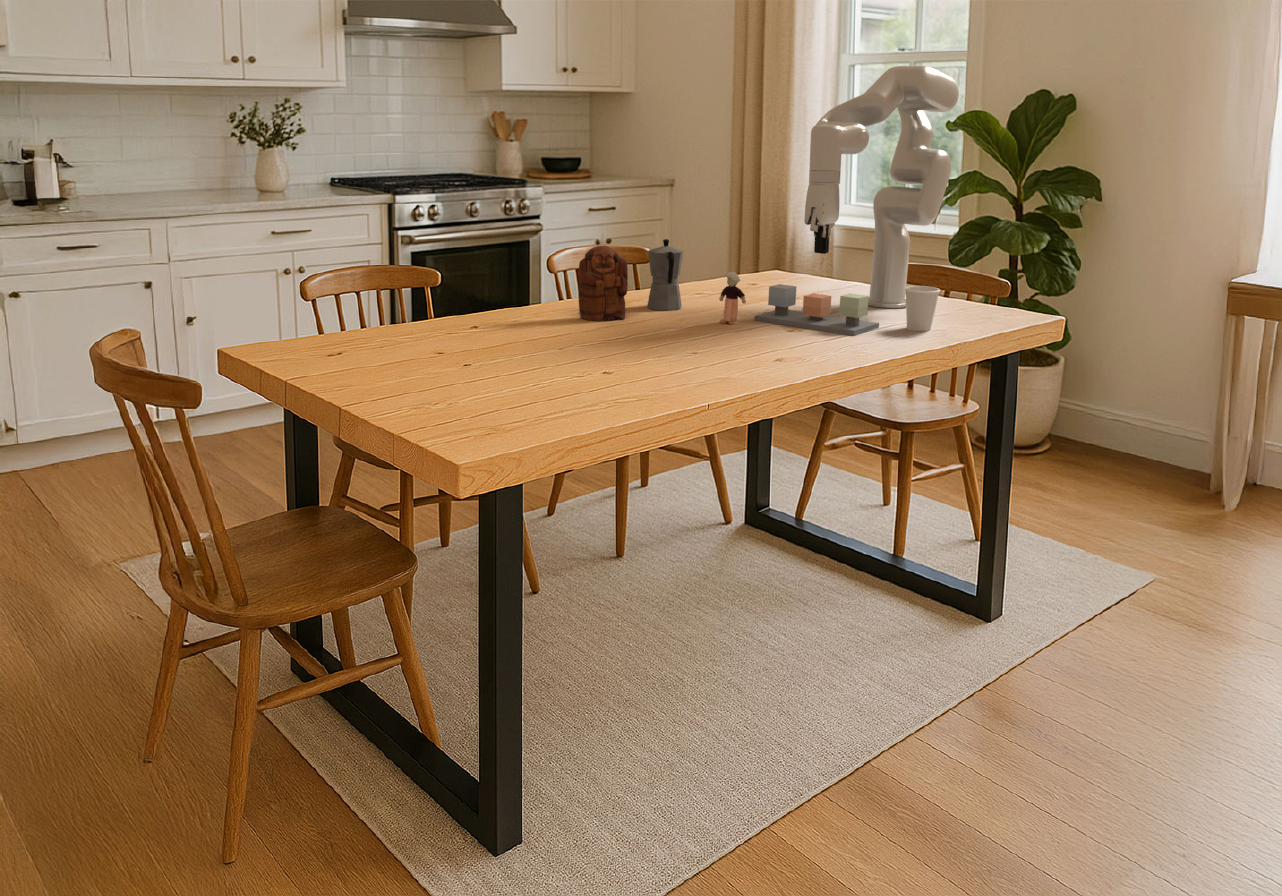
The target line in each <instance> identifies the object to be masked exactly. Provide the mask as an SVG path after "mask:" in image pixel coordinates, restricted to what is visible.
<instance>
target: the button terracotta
mask: <svg viewBox="0 0 1282 896" xmlns="http://www.w3.org/2000/svg"><path fill="white" fill-rule="evenodd" d="M802 302H803V303H802V312H803V315H808V316H814V317H823V316H827V315H828V316H831V308H832V295H829V294H828V295H827V294H820V293H809V294H806V295H803V301H802Z"/></svg>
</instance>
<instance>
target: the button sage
mask: <svg viewBox="0 0 1282 896" xmlns="http://www.w3.org/2000/svg"><path fill="white" fill-rule="evenodd" d="M869 297H870V295H865V294H858V293H857V294H856V293H847V294H843V295H840V298H839V308H838V309H839V311H838V316H840V317H846V316H848V317H854V318H859V317H860V318H863V317H865V316H868V311H869V310H868V309H869V308H868V307H869V305H868V298H869Z"/></svg>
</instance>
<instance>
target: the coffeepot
mask: <svg viewBox="0 0 1282 896" xmlns="http://www.w3.org/2000/svg"><path fill="white" fill-rule="evenodd" d="M662 241H663V246H659V247H654V248H650V249H649V250H647V253H648V261H649V262H648V263H649V268H650V270H649V271H650V276H651V277H652V282H651V285H650V291H649V295H648V302H647V307H646V308H648V309H650V310H654V311H663V312H665V311H667V312H669V311H671V312H673V311H679V310H681V308H682V307H683V305H682V300H681V292H680V284H679V277H680V275H681V268H682V263H683V257H684V250H683V249H679V248H676V247H672V246H669V244H670V239H667V238H666V239H663V240H662Z"/></svg>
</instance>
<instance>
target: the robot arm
mask: <svg viewBox="0 0 1282 896" xmlns="http://www.w3.org/2000/svg"><path fill="white" fill-rule="evenodd" d="M959 94H960V91H959V87H958V83H957V82H956V81H955V79H953V78H952V77H951V76H949V75H947V74H945V73H943V72H941V71H940V70H937V69H935V68H933V67H931V66H930V67H929V66H925V65H898V66H892V67H890V68H888V69H887V70H885V72H883V73H882V75H880V76H879V78H878V79H876V81H875V82H874V83H873V84H872V85H870V87H868V89H867V90H865V91H864V93H863V94H861V95H858V96H856V97H853V98H851V99H848V100H847V101H845V102H842V103H841V104H840V103H839V104H838V105H836V106H834V107H833V108H831V109H830V110H828V111H827V112H826V113H825V114H824V115H823V116H822V117H820V119H819V120H818V121H817V122H816V124H815V125H814V126H813V127H811V130H810V146H809V174H808V187H807V189H806V197H805V206H804V207H805V208H804V224H805V225H807V226H809V230H810V232H813V237H814V248H813V249H814V250H813V251H814V252H813V253H815V254H820V255H821V254H823V255H825V254H829V252H830V251H829V249H830V236H831V231H832V229H833V228H834V227H835V223H836V222H837V221H838V220H839V217H840V216H839V215H840V184H841V172H842V171H841V170H842V169H841V167H842V155H857V154H859V153H862V152H863V151H864V150H866V148H867V146H868V144H869V141H870V135H869V131H868V129H867V127H869V126H874V125H877V124H881V123H883V122H884V121H886V120H887V119H888V118H889V117H890V115H891V114H893V112H894V111H895V110H896V109H897V111H898V113H899V118H900V123H901V128H900V133H899V137H898V141H897V145H896V147H895V151H894V154H893V157H892V160H891V165H890V169H889V174H890V177H891V179H892V181H894V182H895V183H898V184H903V185H913V186H914V185H915V186H921V188H918V187H917V188H916V187H910V186H895V185H894V186H886V187H883V188H880V189H879V190H878V191H877V192H876V194H875V196H874V198H873V205H872V209H873V217H874V241H873V253H872V263H871V273H870V274H871V275H870V287H869V298H868V307H869V306H870V307H875V308H884V309H899V308H901V309H902V308H906V290H905V288H906V287H907V282H908V281H907V278H908V270H909V258H910V248H911V238H910V234H909V231H908V229H907V227H906V225H909V226H910V225H911V226H921V227H925V226H930V225H931V224H933V223H934V222H935V221H936V219H937V217H938V216H939V215H938V214H939V212H940V208H941V207H942V206H941V205H942V202H943V199H944V196H945V194H946V189H947V187H948V183H949V181H950V176H951V172H952V164H951V163H952V162H951V161H952V160H951V157H950V156H949V154H948V152H946V151H945V150H943V149H939V148H931V145H932V142H933V138H934V137H933V136H934V130H933V126H932V124H931V121H930V119H929V118H928V116H927V114H926V112H930V113H931V112H935V113H937V112H939V113H943V112H948V111H951V110H952V109H953V108H954V107H955V106H956V105H957V102H958V100H959V97H960V96H959Z"/></svg>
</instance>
